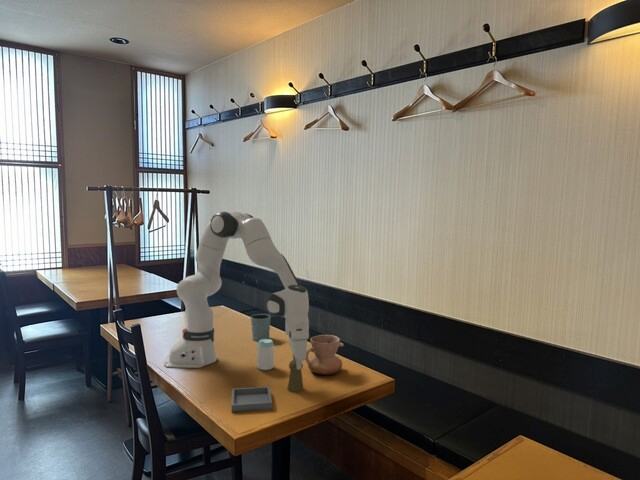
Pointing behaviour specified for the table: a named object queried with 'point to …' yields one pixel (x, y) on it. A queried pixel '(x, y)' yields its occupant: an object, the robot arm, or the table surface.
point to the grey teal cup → (260, 326)
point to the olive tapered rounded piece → (295, 378)
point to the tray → (251, 399)
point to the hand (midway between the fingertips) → (297, 364)
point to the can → (265, 354)
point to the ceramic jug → (324, 355)
